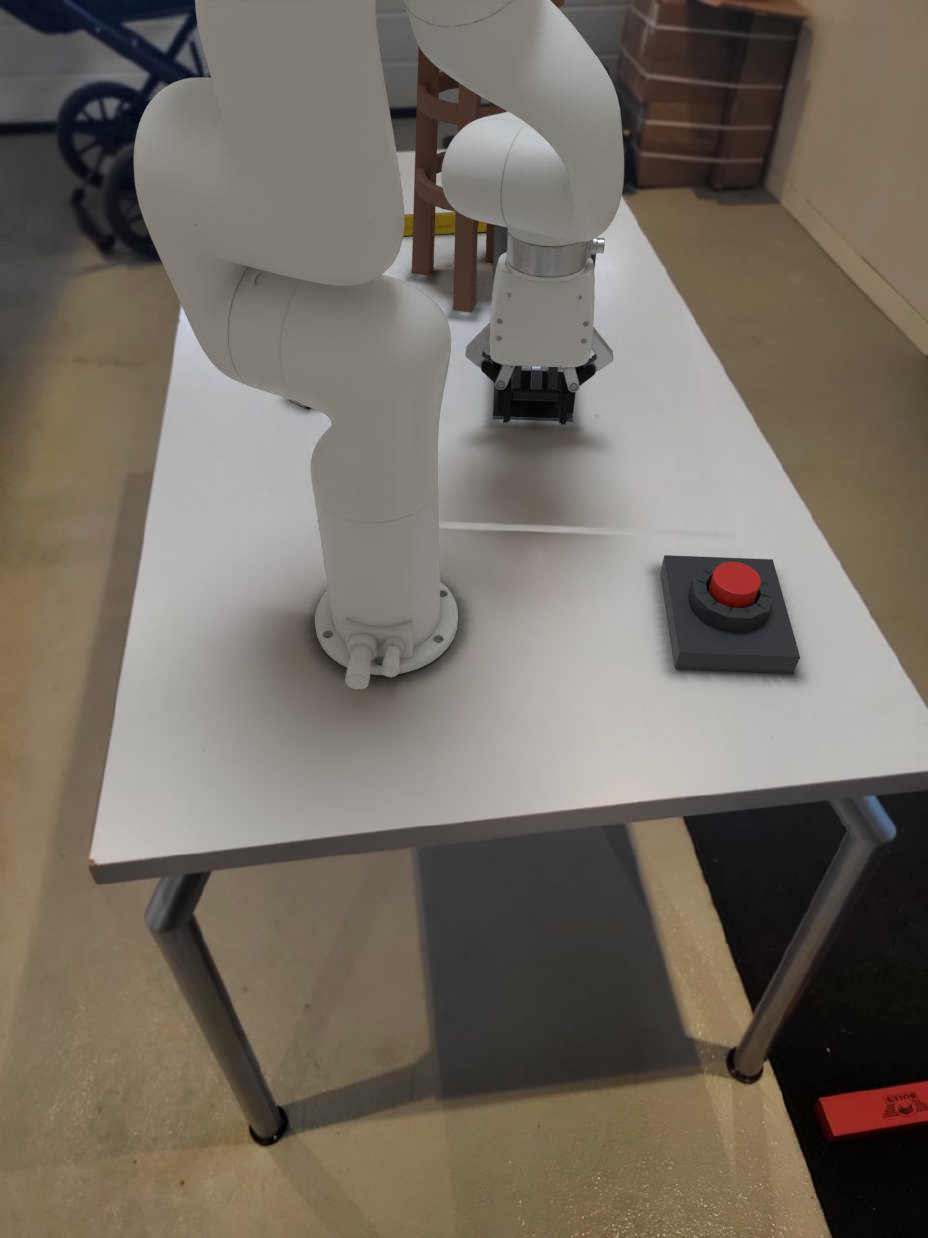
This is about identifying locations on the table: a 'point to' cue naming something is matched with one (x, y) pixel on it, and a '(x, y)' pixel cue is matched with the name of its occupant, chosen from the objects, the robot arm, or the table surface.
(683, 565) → the power block
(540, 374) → the kettle switch
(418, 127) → the stool
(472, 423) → the table surface
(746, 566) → the power button
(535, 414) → the switch bracket
